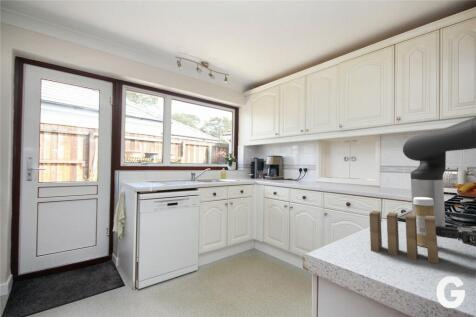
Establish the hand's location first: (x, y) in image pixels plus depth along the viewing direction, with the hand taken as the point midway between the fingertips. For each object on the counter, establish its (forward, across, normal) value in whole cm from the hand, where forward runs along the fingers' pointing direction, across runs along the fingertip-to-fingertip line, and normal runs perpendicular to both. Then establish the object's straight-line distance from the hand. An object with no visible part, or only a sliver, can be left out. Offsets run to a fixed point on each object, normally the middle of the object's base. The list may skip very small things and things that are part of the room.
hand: (436, 230), depth 56 cm
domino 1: (+9, 0, +7) cm, 11 cm away
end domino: (+13, 0, +7) cm, 15 cm away
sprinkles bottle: (+3, -11, +7) cm, 13 cm away
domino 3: (+1, 0, +7) cm, 7 cm away
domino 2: (+5, 0, +7) cm, 8 cm away
